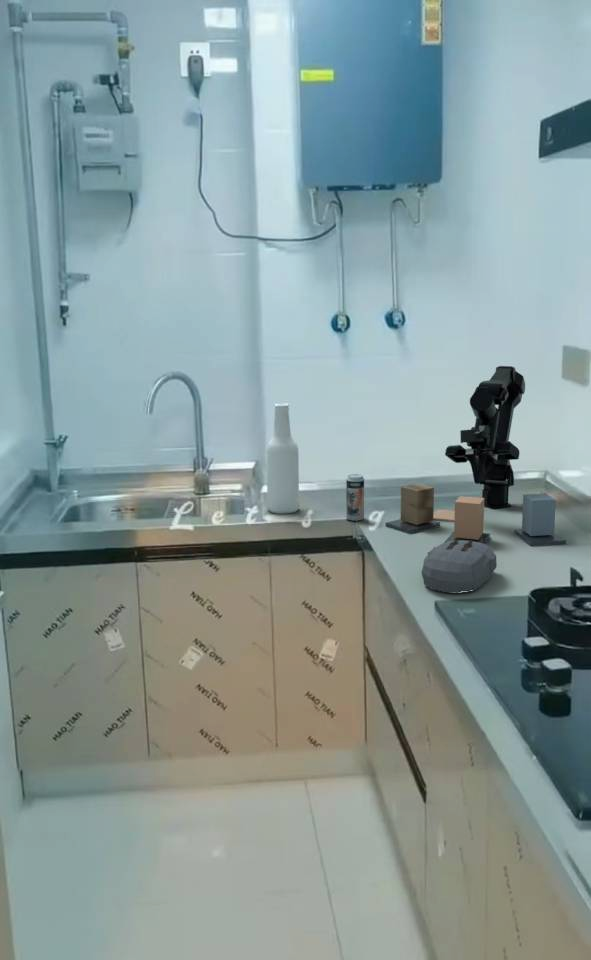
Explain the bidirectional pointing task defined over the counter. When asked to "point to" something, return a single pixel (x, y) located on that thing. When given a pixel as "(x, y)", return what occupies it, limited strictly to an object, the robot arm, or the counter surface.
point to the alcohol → (282, 465)
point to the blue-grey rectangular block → (538, 514)
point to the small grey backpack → (458, 566)
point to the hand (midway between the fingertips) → (476, 483)
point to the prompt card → (444, 515)
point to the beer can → (355, 497)
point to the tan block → (469, 517)
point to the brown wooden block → (417, 503)
